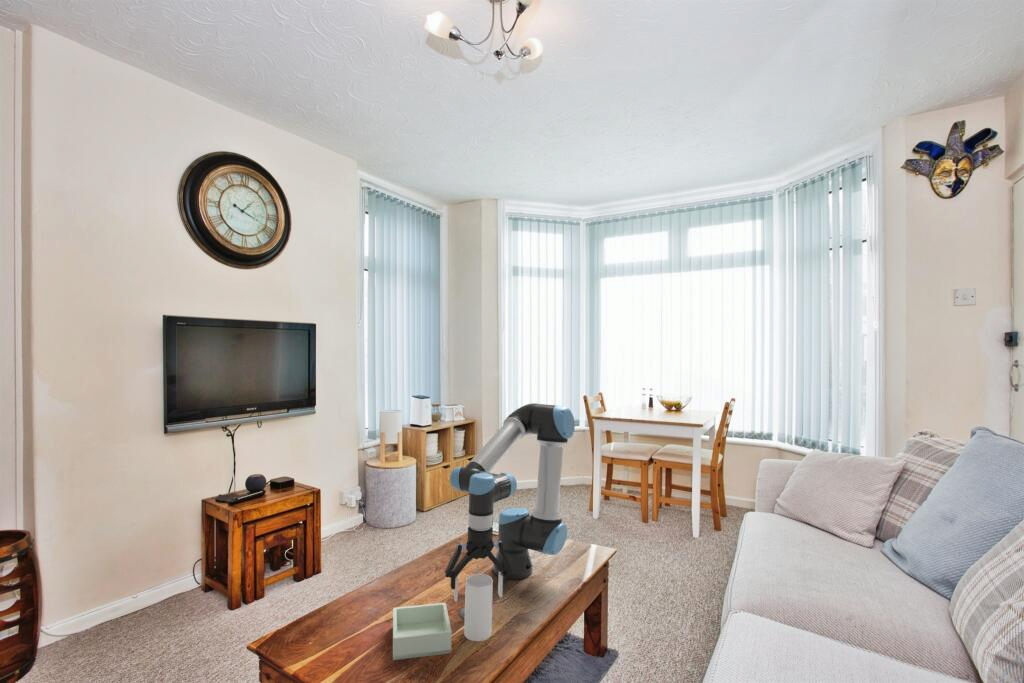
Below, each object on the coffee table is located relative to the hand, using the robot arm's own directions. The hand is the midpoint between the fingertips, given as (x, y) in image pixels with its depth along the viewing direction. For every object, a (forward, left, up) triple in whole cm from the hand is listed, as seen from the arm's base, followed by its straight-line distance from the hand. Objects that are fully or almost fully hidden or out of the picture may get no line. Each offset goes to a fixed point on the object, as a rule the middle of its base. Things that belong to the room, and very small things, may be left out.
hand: (478, 597), depth 149 cm
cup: (0, 0, -11) cm, 11 cm away
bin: (+17, 0, -11) cm, 20 cm away
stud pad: (0, -11, -11) cm, 16 cm away
